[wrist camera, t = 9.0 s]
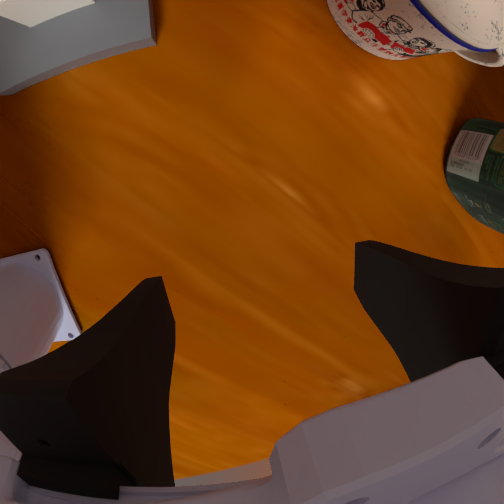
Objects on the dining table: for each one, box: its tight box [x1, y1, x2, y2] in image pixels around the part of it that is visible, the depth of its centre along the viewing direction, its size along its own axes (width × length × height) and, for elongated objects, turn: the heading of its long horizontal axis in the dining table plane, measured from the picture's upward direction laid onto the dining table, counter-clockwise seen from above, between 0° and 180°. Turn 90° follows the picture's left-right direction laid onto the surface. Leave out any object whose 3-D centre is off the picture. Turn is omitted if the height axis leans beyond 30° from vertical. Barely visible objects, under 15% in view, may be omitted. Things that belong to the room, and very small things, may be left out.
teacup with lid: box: [327, 0, 504, 67], centre depth 11 cm, size 12×9×12 cm
